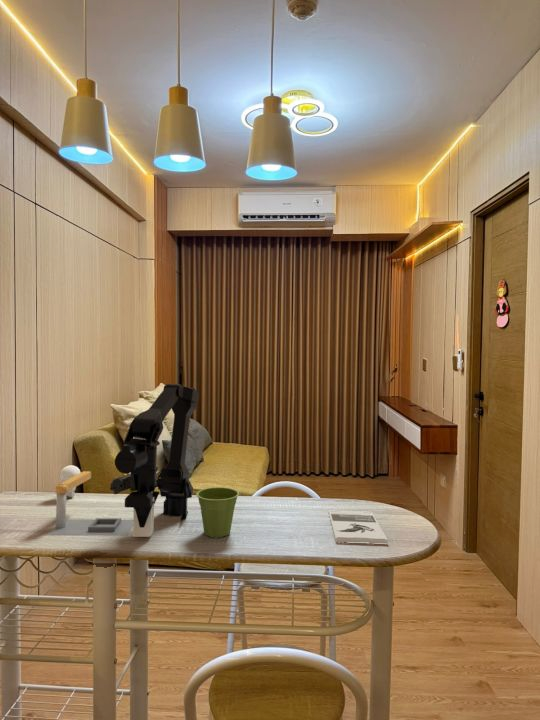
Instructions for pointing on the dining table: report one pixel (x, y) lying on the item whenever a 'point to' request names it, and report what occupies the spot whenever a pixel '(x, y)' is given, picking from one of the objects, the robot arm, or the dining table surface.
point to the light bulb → (67, 474)
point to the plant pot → (217, 510)
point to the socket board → (87, 523)
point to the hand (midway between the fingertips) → (143, 524)
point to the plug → (148, 527)
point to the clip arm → (72, 482)
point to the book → (356, 527)
